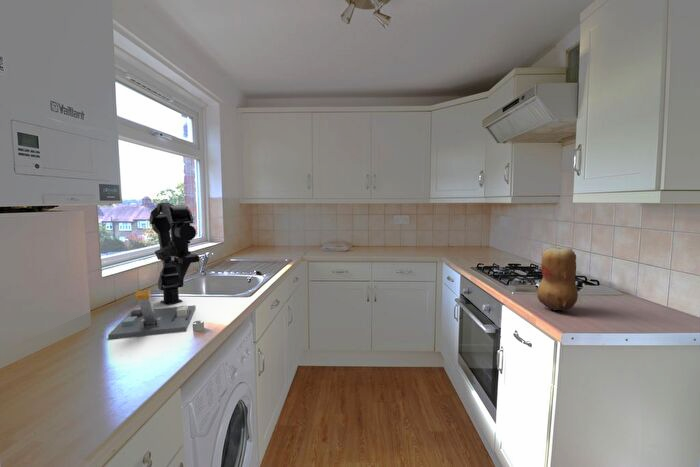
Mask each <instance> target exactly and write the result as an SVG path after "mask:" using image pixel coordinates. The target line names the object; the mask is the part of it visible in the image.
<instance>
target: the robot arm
mask: <svg viewBox="0 0 700 467" xmlns="http://www.w3.org/2000/svg"><path fill="white" fill-rule="evenodd" d="M194 219H195V218H194V216H193V213H192V211H191V210H190V208H189V207H188V205H174V204H172V203H171V202H159V203H157V204H156V207H155V208H154V209H152V210H151V212H150V214H149V224H150V225H151V228H152V231H154V233H156V234H157V238H158V242H159V244H158V245H159V249H157V250H155V251H154V254H155V256H156V259H157V260H160V261H162V268H161V271H160V273H159V277H158V281H157V288H158V290H160V291H163V292H162V294H163V300H160V303H161V304H164V305H166V306H169V305H172V304H178V303H181V302H183V300H182V299H180V297H179V294H180V293H179V288H183V287H184V280H185V276H186V273H187V271H188V270H189V267H190V266H191V264H193V263H199V262H200V256H199V255H198V254H196V253H192V252H191V251H189V244H191V241H193V239H195V238H196V236H197V230H196V228H195V227H194V226H193V225H191V224H194Z"/></svg>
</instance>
